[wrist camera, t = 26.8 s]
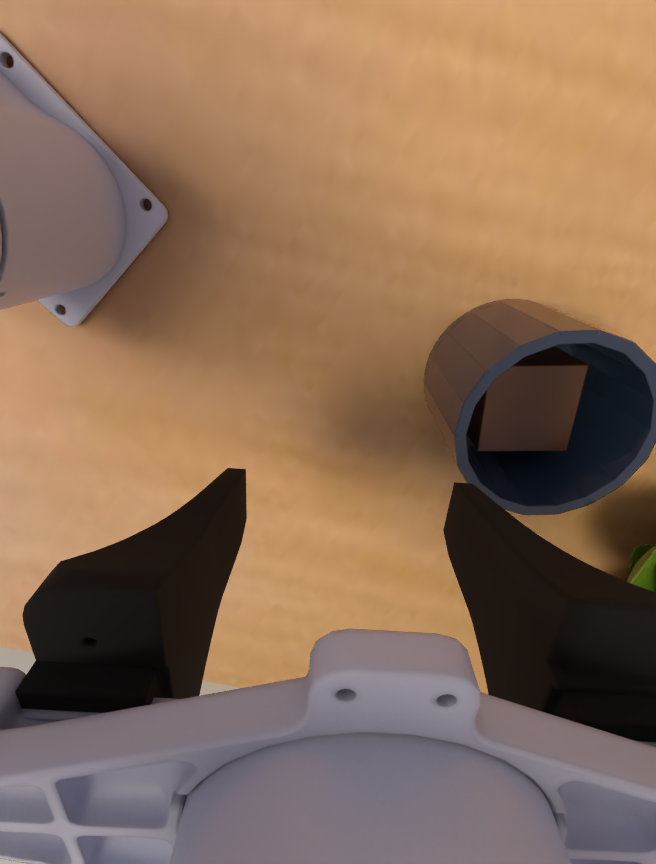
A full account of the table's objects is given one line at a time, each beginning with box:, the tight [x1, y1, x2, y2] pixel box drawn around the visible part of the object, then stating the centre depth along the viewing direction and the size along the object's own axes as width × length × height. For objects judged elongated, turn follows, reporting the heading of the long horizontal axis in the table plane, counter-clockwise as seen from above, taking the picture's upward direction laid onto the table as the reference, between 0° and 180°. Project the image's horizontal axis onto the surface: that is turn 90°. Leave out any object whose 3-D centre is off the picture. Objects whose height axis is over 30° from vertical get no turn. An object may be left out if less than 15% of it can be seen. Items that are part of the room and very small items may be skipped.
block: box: [467, 346, 588, 452], centre depth 21 cm, size 4×4×4 cm
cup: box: [424, 299, 656, 515], centre depth 21 cm, size 8×8×7 cm
